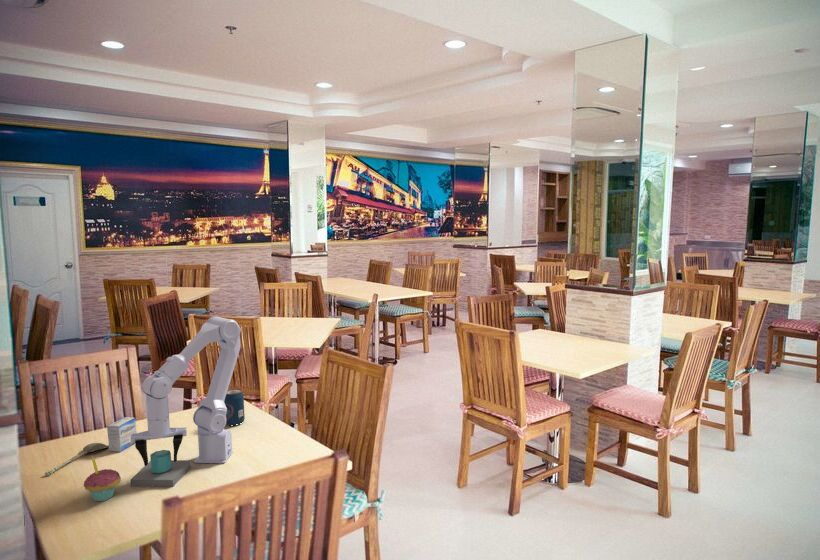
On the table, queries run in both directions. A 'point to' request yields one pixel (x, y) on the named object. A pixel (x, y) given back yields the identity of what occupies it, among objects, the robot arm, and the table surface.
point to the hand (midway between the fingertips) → (161, 462)
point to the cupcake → (102, 483)
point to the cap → (160, 461)
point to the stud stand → (161, 475)
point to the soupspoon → (86, 449)
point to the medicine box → (121, 434)
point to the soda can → (234, 406)
